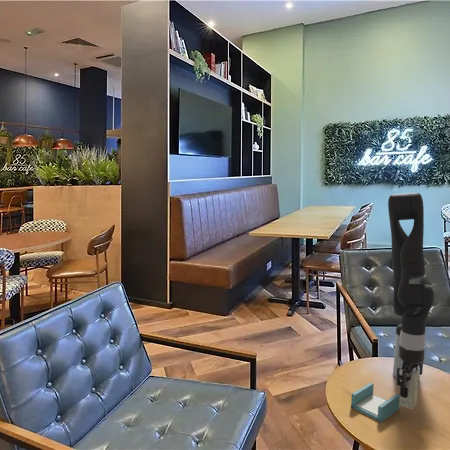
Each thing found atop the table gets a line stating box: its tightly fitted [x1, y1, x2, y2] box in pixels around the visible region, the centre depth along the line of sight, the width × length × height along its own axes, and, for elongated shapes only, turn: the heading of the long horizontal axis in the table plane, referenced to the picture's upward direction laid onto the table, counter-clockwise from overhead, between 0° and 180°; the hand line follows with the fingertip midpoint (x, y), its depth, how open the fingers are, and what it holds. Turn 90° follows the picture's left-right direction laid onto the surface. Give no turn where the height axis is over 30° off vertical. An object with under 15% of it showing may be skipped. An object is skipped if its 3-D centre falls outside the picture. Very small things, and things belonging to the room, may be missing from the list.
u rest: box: [350, 382, 400, 423], centre depth 141 cm, size 12×11×5 cm
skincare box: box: [399, 369, 419, 410], centre depth 136 cm, size 6×4×12 cm
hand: (408, 392), depth 136 cm, fingers closed on skincare box, 7 cm apart
